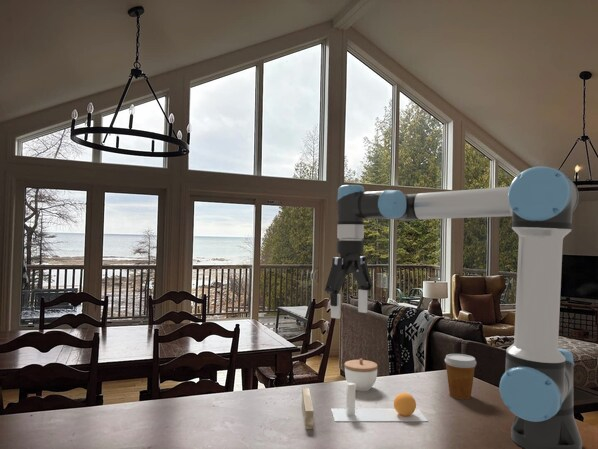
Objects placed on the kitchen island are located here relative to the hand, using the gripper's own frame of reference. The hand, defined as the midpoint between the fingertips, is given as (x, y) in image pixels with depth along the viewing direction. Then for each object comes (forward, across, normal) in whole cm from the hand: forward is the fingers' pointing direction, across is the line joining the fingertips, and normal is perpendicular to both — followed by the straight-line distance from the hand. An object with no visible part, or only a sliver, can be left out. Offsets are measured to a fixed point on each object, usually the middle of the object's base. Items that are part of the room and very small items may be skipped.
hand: (349, 315), depth 131 cm
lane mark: (+27, -3, +7) cm, 28 cm away
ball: (+24, -8, +13) cm, 28 cm away
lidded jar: (+27, -20, -9) cm, 35 cm away
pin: (+27, +2, +2) cm, 27 cm away
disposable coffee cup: (+27, -35, +18) cm, 48 cm away
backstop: (+27, +10, -7) cm, 30 cm away
